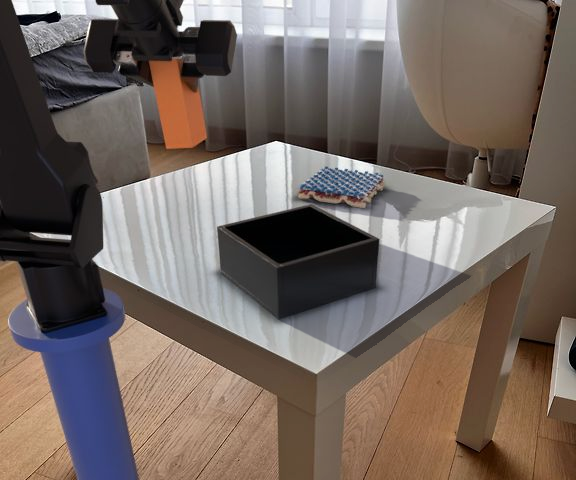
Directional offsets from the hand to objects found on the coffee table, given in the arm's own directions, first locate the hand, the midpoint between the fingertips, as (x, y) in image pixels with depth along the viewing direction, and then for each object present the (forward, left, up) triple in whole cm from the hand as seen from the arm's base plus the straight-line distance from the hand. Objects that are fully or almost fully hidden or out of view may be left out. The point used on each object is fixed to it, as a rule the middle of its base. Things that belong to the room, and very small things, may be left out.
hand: (181, 89), depth 85 cm
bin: (-4, -35, -13) cm, 38 cm away
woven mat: (+17, -15, -14) cm, 27 cm away
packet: (-1, -2, -7) cm, 7 cm away
